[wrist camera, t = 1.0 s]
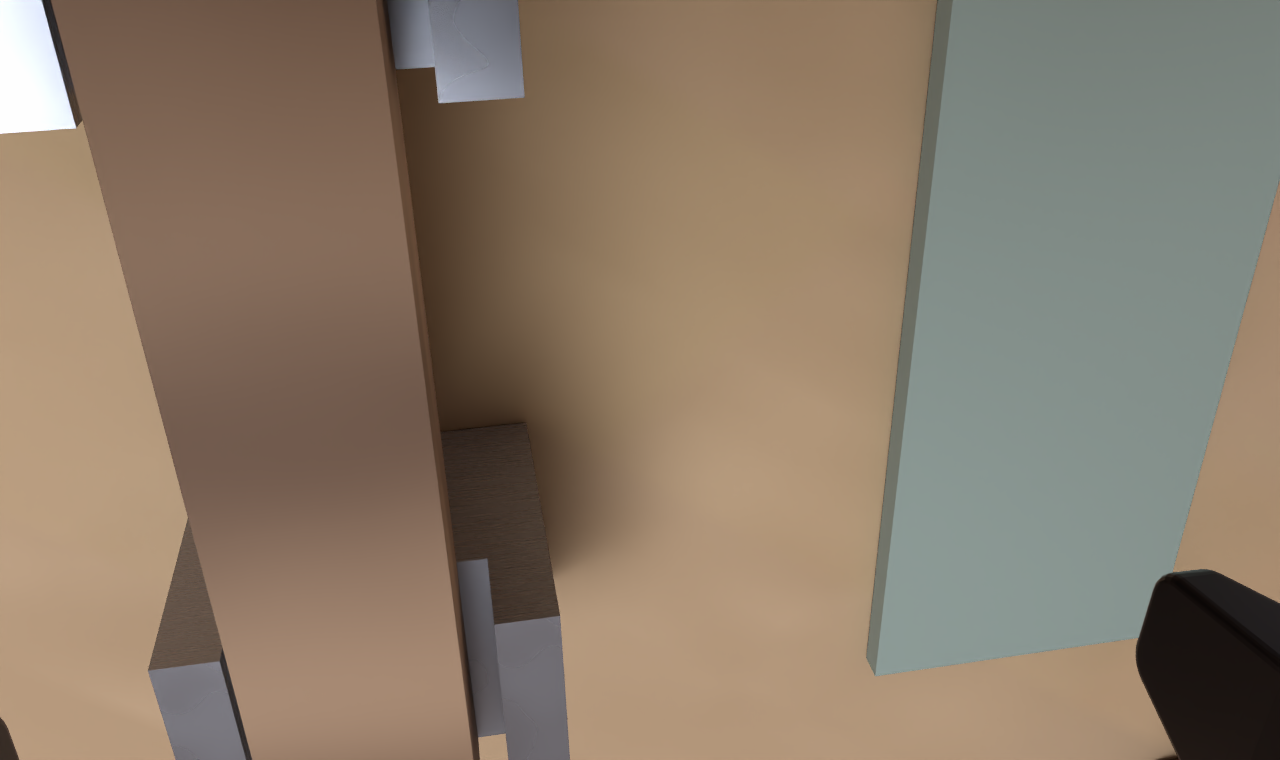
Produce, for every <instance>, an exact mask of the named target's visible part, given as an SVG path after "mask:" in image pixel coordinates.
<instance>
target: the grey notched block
mask: <svg viewBox="0 0 1280 760" xmlns="http://www.w3.org/2000/svg"><path fill="white" fill-rule="evenodd" d="M387 4H388V13H389V21H390V29H391V37H392V45H393V53H394V61H395V69H411V68H427V67H435V74H436V83H437V93H438V102H439V103H451V102H466V101H480V100H495V99H509V98H524V82H523V68H522V53H521V38H520V24H519V9H518V0H387ZM82 120H83V119H82V116H81V112H80V108H79V104H78V101H77V97H76V93H75V89H74V86H73V82H72V78H71V74H70V70H69V67H68V63H67V59H66V55H65V52H64V48H63V44H62V40H61V36H60V33H59V29H58V25H57V21H56V18H55V14H54V10H53V6H52V3H51V0H0V133H14V132H28V131H43V130H57V129H72V128H77V126H78V125H79V124H80V123H81V121H82Z"/></svg>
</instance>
